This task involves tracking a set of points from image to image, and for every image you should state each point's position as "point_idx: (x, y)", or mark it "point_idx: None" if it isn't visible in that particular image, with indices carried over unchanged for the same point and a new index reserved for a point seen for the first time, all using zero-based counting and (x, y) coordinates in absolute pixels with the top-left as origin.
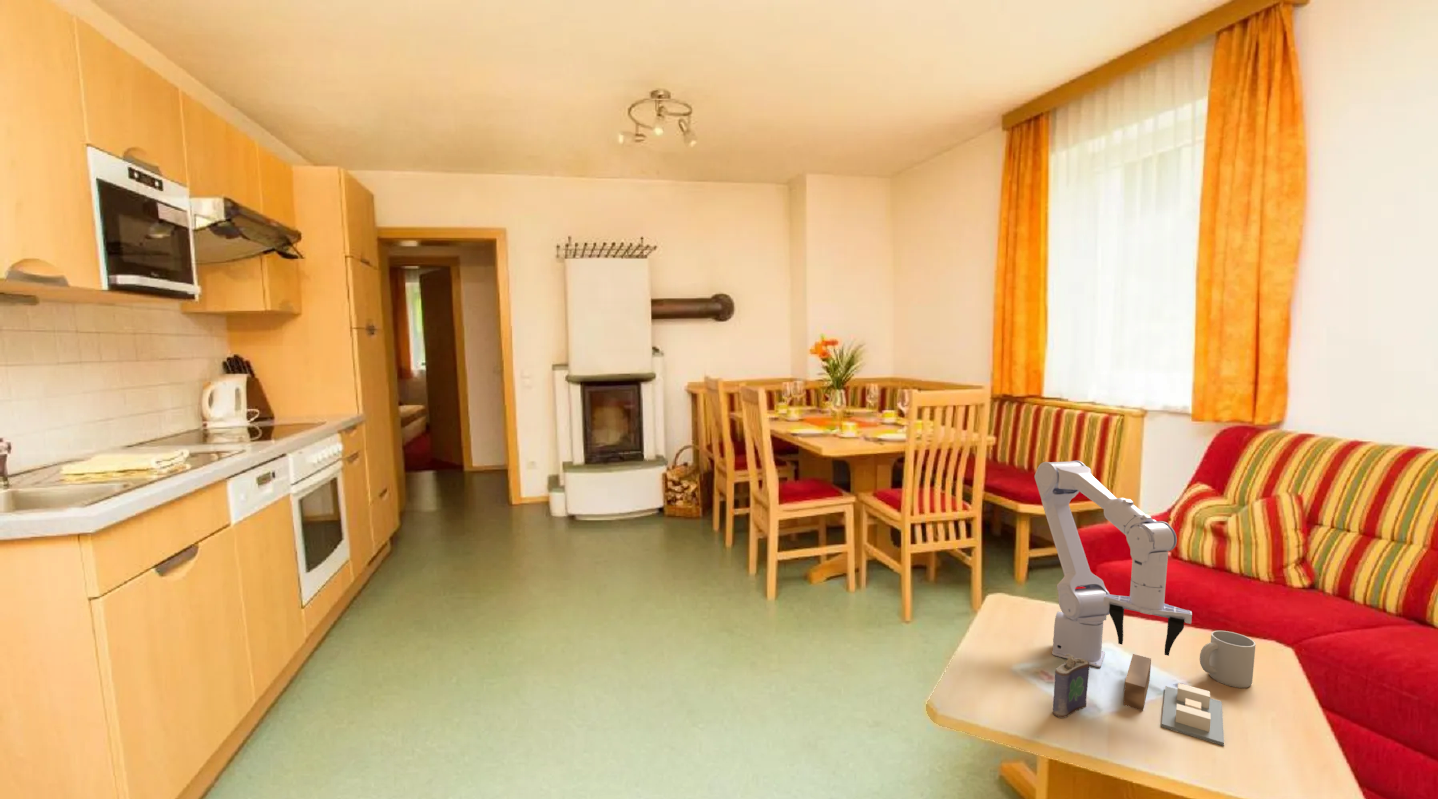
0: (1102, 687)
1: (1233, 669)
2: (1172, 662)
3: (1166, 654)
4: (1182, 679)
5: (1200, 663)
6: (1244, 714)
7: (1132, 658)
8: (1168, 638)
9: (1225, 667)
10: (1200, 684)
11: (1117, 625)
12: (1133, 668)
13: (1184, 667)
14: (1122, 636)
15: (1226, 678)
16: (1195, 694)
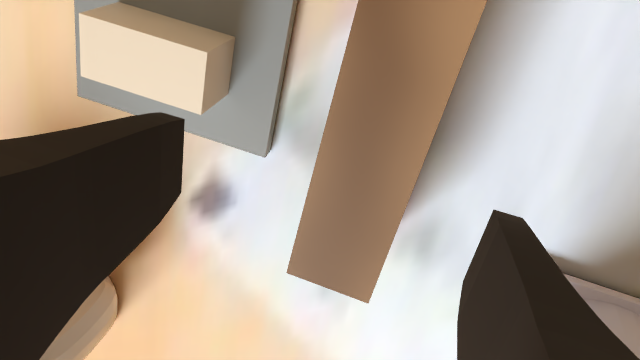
0: (584, 61)
1: None
2: (218, 355)
3: (168, 114)
4: (199, 247)
5: (111, 309)
6: (18, 38)
7: (383, 253)
8: (49, 157)
9: None
10: None
11: (601, 341)
12: (411, 125)
13: (185, 330)
14: (503, 253)
15: None
16: (139, 28)
